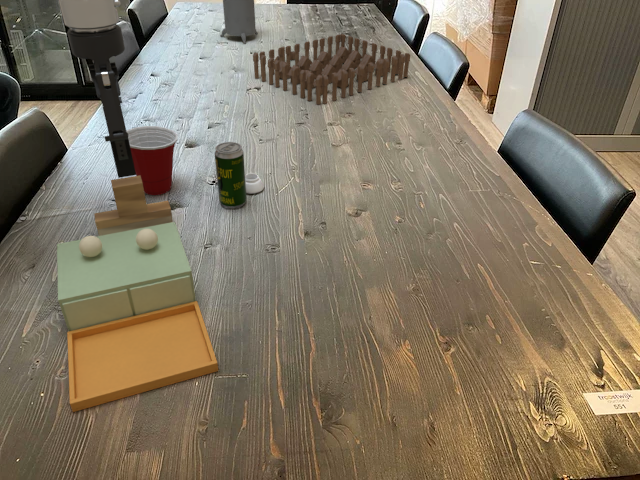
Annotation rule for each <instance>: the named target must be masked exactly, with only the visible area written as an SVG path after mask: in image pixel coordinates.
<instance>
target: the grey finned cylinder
mask: <svg viewBox="0 0 640 480" xmlns="http://www.w3.org/2000/svg"><path fill="white" fill-rule="evenodd" d="M222 7H223V8H222V9H223V19H224V28H223V29H222V30H221V34H220V37H221V38H223V37H225V36H226V35H228V36H232V37H240V38H241V40H242V42H243V44H244V45H246V44H247V41H246V40H247V37H248V36H252V35H255V36H256V35H258V34H259V32H258V31H257V28H256V9H255V0H222Z"/></svg>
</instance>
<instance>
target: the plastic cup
mask: <svg viewBox="0 0 640 480" xmlns="http://www.w3.org/2000/svg"><path fill="white" fill-rule="evenodd" d="M126 132H127V133H128V136H129V137H128V139H129V144H130V148H131V153H132V158H133V163H134V167H135V172H136V175H135V176H139V175H140V176H141V179H142V183H143V188H144V193H145V195H146V194H147V195H149V196H160V195H163V194H167V193H168V192H170V190H171V189H172V185H173V170H174V168H173V167H174V166H173V165H174V152H175V147H176V142H177V141H178V138H179V134H178V133H177V132H176V131H175V130H173V129H170V128H168V127H163V126H157V125H144V126H143V125H142V126H136V127H132V128H129V129H126Z"/></svg>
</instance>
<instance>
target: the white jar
mask: <svg viewBox="0 0 640 480" xmlns="http://www.w3.org/2000/svg"><path fill="white" fill-rule="evenodd" d="M245 182H246V194H258V193H260V192H261V191H263V190H264V188H265V184H264V182H263V181H262V179H261V178H260V176H259V175H258V173H255V172H248V173H245Z"/></svg>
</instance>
